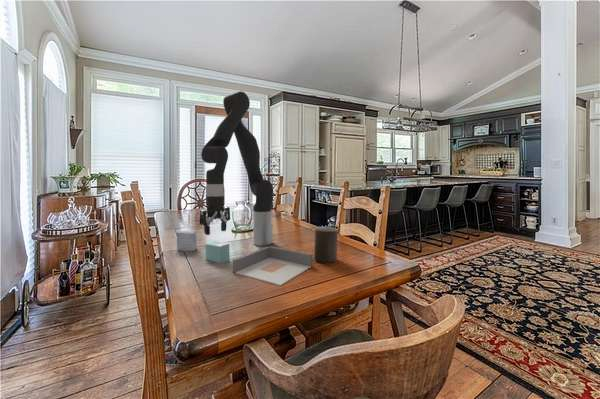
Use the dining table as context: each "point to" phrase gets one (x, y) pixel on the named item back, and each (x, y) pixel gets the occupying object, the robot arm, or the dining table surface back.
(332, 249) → the pillar candle
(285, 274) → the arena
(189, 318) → the dining table surface
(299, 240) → the dining table surface
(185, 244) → the medicine box
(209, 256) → the teal block
